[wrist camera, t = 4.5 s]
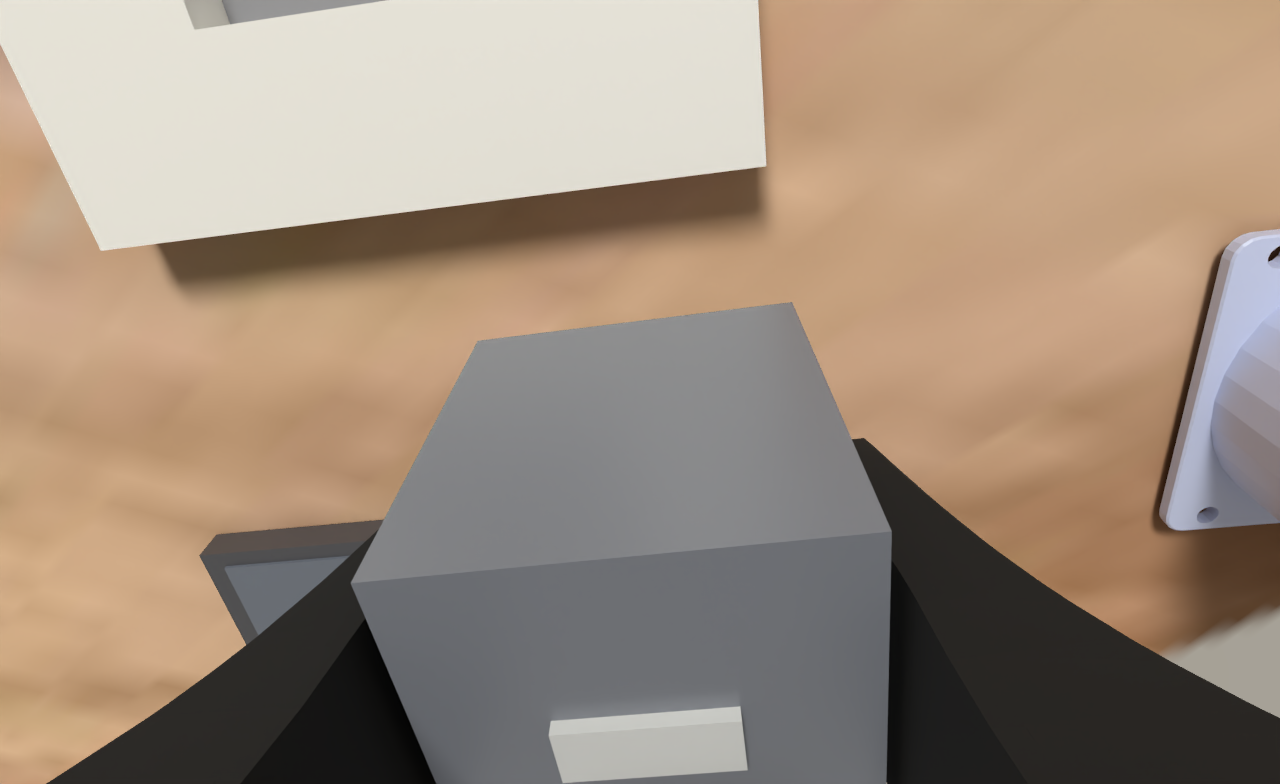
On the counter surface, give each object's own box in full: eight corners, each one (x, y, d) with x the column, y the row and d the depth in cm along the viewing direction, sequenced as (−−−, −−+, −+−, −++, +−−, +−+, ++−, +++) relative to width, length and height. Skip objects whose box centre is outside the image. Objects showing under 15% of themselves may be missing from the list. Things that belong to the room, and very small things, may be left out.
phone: (628, 497, 20) (627, 520, 19) (657, 664, 23) (656, 691, 22) (216, 534, 21) (197, 558, 20) (295, 689, 24) (281, 715, 23)
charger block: (792, 302, 10) (898, 544, 6) (804, 552, 12) (888, 876, 8) (477, 340, 11) (342, 597, 6) (540, 577, 13) (475, 899, 8)
